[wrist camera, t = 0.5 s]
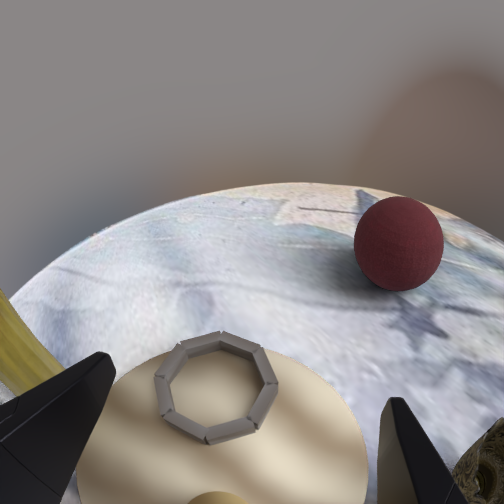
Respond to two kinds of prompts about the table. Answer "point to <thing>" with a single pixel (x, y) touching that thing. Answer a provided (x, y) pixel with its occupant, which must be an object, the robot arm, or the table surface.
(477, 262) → the table surface
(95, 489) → the disc
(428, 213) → the decorative ball
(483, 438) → the cup
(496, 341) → the table surface
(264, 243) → the table surface
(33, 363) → the vase
